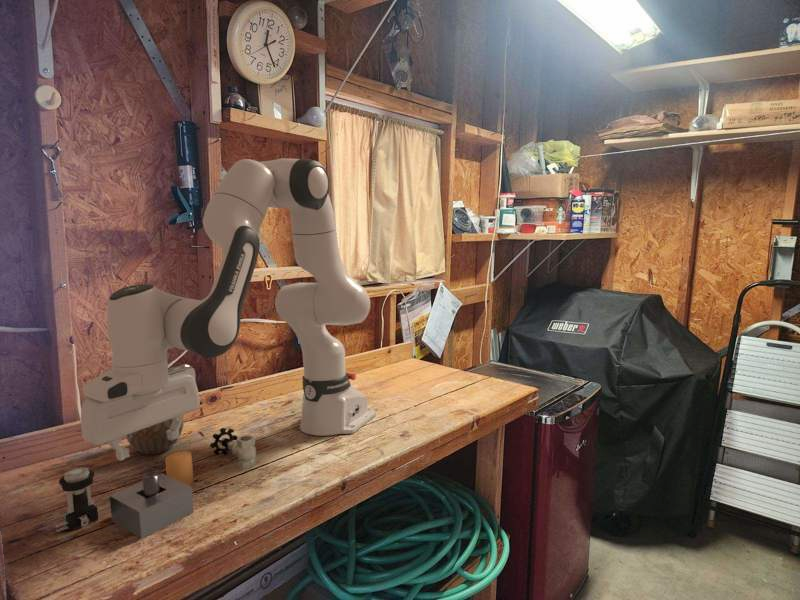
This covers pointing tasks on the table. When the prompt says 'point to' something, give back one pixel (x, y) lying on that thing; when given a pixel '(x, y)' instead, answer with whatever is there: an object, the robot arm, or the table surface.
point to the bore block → (151, 506)
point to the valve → (237, 447)
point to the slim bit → (150, 485)
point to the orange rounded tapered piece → (180, 467)
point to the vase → (153, 438)
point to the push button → (78, 498)
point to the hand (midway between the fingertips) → (149, 448)
